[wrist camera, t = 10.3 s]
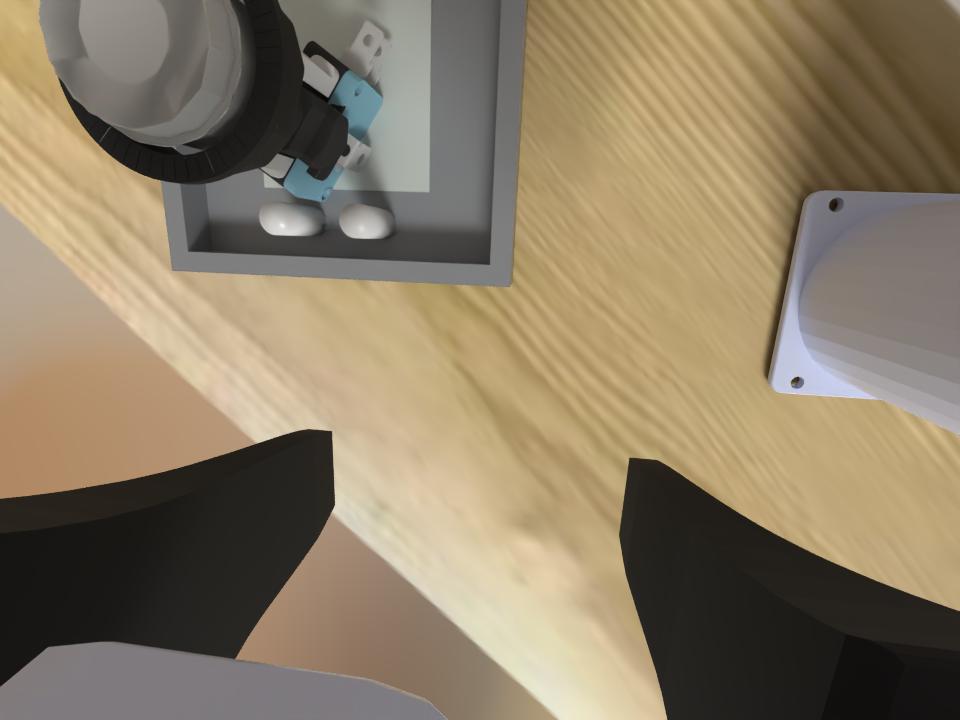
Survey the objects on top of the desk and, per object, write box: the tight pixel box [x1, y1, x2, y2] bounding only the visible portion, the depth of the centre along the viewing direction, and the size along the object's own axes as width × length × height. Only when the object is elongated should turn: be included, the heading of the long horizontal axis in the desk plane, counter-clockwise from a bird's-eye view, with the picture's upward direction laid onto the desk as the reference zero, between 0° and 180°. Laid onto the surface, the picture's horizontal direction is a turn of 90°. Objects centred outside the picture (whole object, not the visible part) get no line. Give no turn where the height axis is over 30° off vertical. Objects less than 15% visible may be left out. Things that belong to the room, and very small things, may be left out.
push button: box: [39, 0, 392, 202], centre depth 14 cm, size 7×5×10 cm
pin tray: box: [161, 0, 528, 287], centre depth 17 cm, size 14×16×4 cm
